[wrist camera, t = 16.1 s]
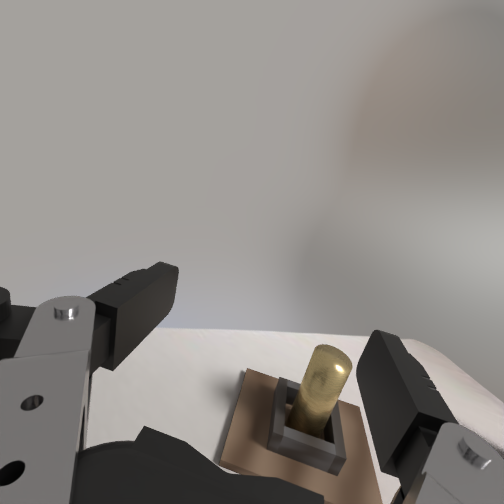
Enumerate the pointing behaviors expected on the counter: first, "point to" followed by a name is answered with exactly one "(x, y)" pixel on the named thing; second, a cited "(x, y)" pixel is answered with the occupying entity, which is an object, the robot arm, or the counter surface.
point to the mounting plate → (299, 444)
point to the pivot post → (319, 390)
